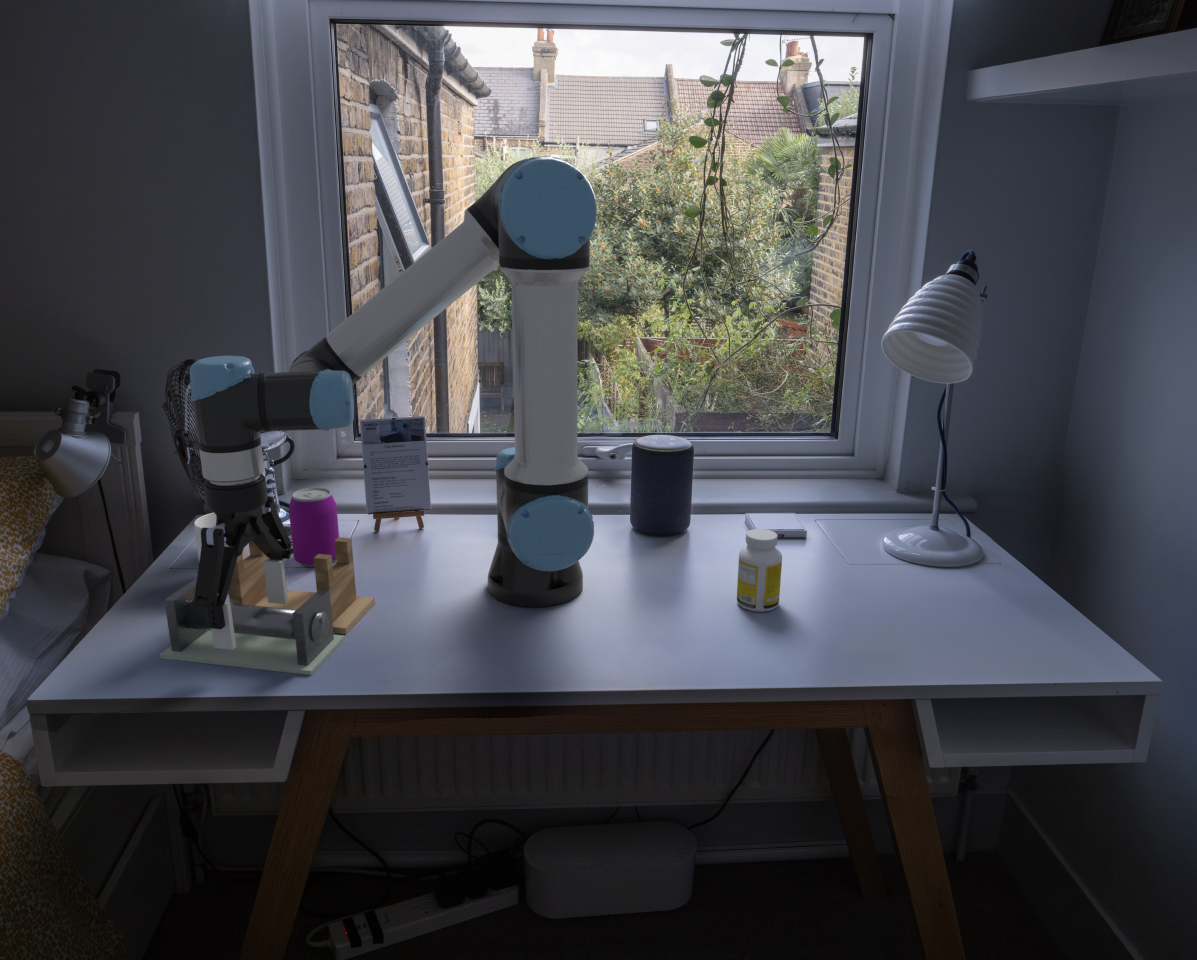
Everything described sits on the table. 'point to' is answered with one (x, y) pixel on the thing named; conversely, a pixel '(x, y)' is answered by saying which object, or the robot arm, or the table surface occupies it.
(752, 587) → the pill bottle
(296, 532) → the beverage can
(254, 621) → the rod
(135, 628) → the table surface
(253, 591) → the cradle
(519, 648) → the table surface
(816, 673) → the table surface
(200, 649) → the mat
